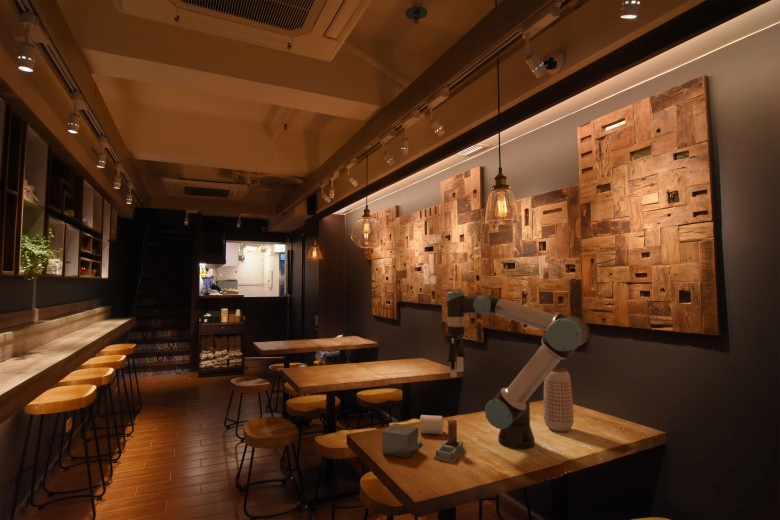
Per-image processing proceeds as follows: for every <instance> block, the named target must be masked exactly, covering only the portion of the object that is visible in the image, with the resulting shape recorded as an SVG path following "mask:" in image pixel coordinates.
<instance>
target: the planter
mask: <svg viewBox="0 0 780 520" xmlns="http://www.w3.org/2000/svg"><path fill="white" fill-rule="evenodd" d="M571 381H572V380H571V375H570V373H569V372H568V370H567V369H565V368H561V367H554V369H553V370H552V371H551V372H550V373H549V375H548V376H547V377H546V378H545V379H544V381H543V421H544V423H545V426H546V427H547V428H548V429H549V430H550V431H552V432H557V433H567V432H569V430H571V428H572V427H573V425H574V421H575V419H574V402H573V389H572V382H571Z"/></svg>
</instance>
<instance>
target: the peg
mask: <svg viewBox="0 0 780 520" xmlns="http://www.w3.org/2000/svg"><path fill="white" fill-rule="evenodd" d="M457 423H458V422H457V420H456V419H448V420H447V440H448V445H449V446H454V447H457V441H458V435H457V434H458V432H457V431H458V429H457V427H458V425H457Z"/></svg>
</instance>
